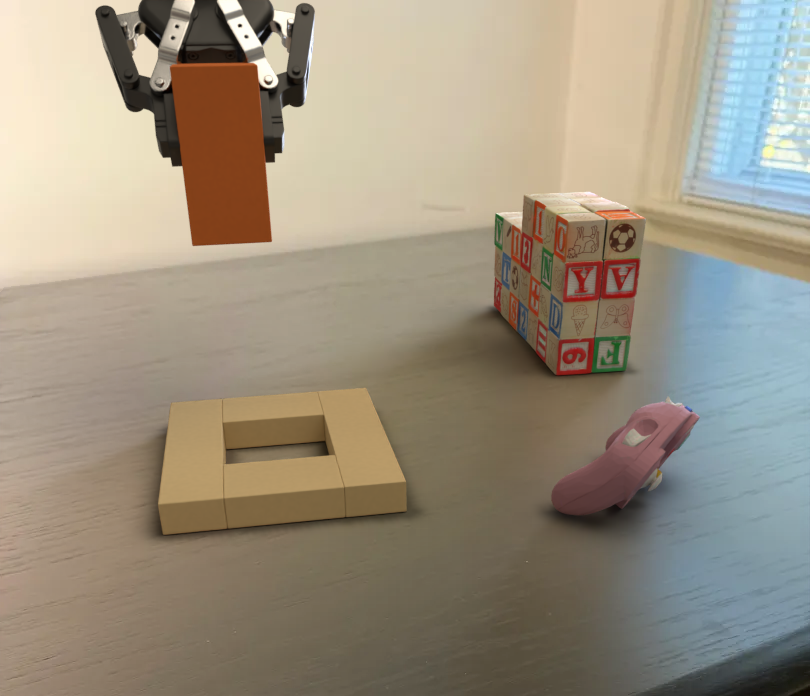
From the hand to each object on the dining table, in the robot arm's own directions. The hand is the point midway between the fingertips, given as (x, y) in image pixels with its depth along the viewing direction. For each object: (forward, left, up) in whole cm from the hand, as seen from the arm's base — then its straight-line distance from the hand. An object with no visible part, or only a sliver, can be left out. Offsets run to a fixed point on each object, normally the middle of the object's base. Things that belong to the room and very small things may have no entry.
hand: (222, 154), depth 54 cm
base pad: (+4, -5, -18) cm, 19 cm away
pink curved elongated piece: (+26, -6, -18) cm, 32 cm away
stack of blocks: (+21, +26, -18) cm, 38 cm away
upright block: (-1, +2, -5) cm, 5 cm away
